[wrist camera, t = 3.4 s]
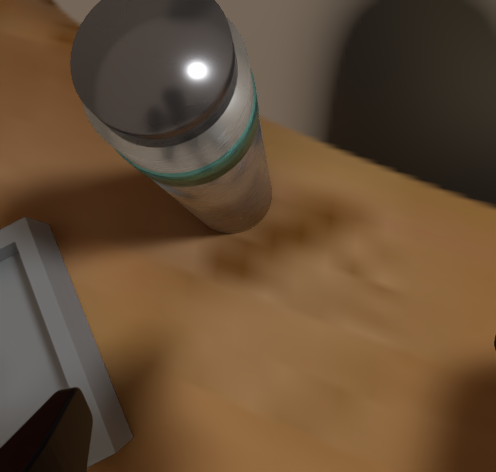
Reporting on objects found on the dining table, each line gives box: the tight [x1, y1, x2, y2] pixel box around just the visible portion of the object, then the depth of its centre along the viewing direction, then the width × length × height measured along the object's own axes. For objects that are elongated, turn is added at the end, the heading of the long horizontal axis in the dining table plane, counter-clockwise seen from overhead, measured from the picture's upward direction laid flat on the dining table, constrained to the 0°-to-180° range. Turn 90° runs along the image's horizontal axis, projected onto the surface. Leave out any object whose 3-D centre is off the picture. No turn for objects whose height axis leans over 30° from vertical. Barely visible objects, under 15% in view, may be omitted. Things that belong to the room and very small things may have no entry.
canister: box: [70, 0, 272, 234], centre depth 16 cm, size 5×5×13 cm
